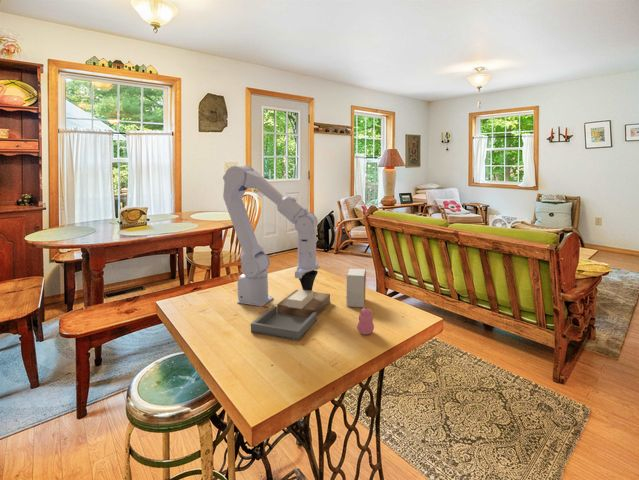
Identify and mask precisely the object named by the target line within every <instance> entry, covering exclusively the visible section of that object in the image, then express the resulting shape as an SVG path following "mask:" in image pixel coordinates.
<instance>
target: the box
mask: <svg viewBox="0 0 639 480" xmlns="http://www.w3.org/2000/svg"><path fill="white" fill-rule="evenodd" d="M317 317H318V316H317V313H316V312H313V313H312V314H311V315H310V316H309V317H308V318H306V317H300V316H293V315H287V314H281V313H277V305H276V306H274V305H273V306H271V307H270V308H269V309H267V311H265V312H264V313H263V314H261V315H260V316H258V317H257V318H256V319H255V320H253V321H252V322H251V323H250V333H253V334H257V335H265V336H270V337H276V338H282V339H286V340H292V341H296V342H297V341H298V342H299V341H300V340H301V339H302V337H304V335H306V333H307V332H308V331H309V330H310V329H311V328H312V327H313V326H314V324H315V323H316V322H317V321H318V318H317Z"/></svg>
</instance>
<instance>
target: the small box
mask: <svg viewBox="0 0 639 480" xmlns="http://www.w3.org/2000/svg"><path fill="white" fill-rule="evenodd" d="M366 280H367V269H365V268H351V267H350V268H349V269H348V272H347V274H346V307H347V308H348V307H349V308H350V307H353V308H364V307H365V302H366V287H367V284H366Z"/></svg>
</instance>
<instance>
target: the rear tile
mask: <svg viewBox="0 0 639 480" xmlns="http://www.w3.org/2000/svg"><path fill="white" fill-rule="evenodd" d="M297 290H298V291H297V292H296V293H294V294H298V295H306V296H307V304H308V303H309V302H310V301H311V300H312V299H313V292H314V291H313V290H312V291H309V290H303V289H302V288H301V289H300V288H299V289H297Z"/></svg>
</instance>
